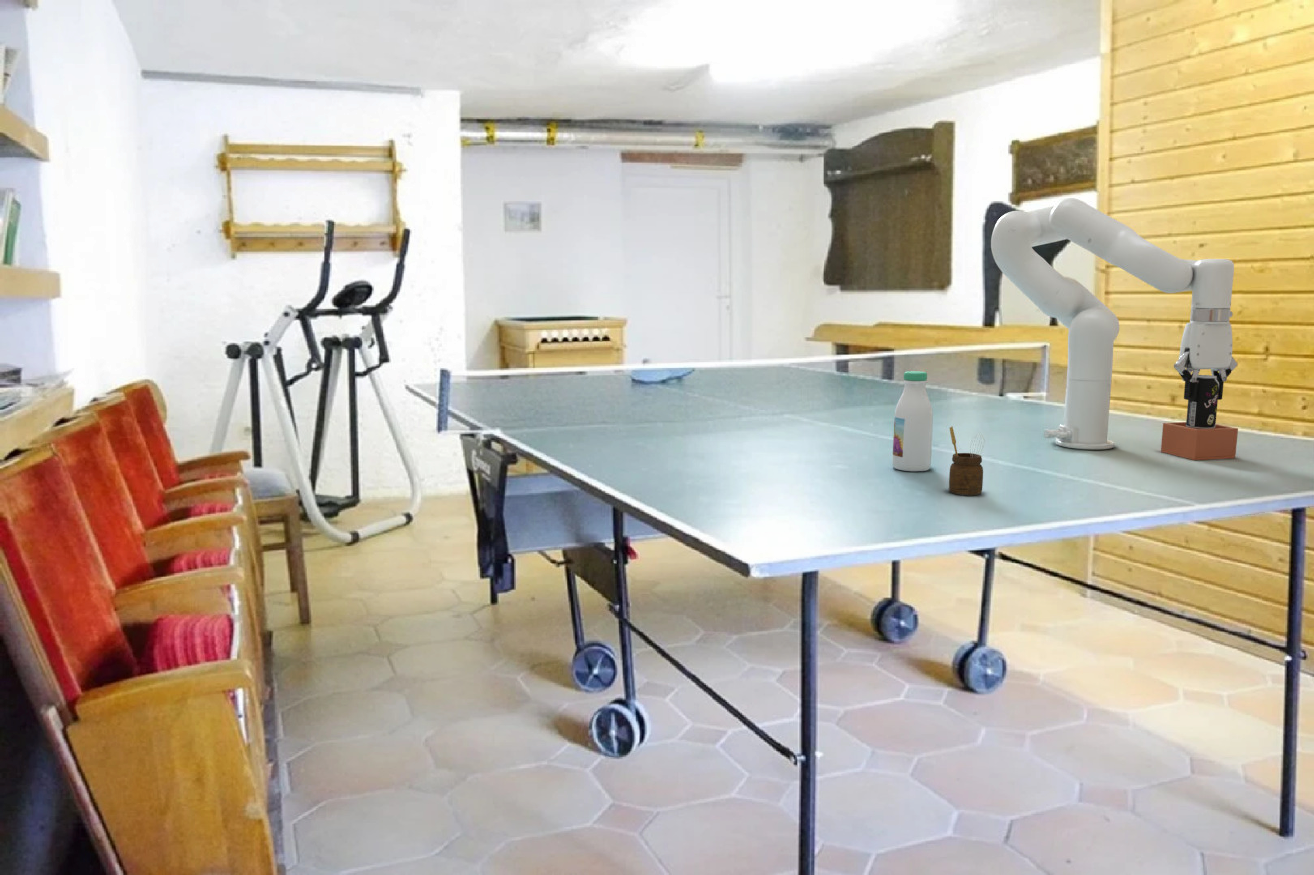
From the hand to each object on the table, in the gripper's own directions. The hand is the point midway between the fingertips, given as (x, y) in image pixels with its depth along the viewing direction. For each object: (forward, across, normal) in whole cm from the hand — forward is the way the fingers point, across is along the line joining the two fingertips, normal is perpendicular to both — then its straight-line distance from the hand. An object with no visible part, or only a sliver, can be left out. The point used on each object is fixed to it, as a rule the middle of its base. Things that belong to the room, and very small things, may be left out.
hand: (1202, 398), depth 222 cm
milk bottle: (+13, +69, 0) cm, 70 cm away
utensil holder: (+13, +70, +23) cm, 75 cm away
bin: (+13, 0, 0) cm, 13 cm away
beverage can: (+7, 0, 0) cm, 7 cm away
